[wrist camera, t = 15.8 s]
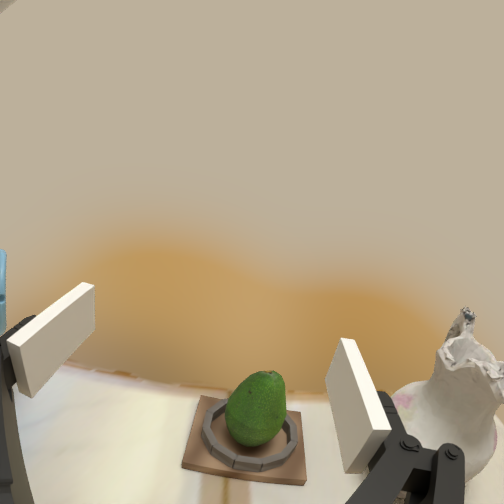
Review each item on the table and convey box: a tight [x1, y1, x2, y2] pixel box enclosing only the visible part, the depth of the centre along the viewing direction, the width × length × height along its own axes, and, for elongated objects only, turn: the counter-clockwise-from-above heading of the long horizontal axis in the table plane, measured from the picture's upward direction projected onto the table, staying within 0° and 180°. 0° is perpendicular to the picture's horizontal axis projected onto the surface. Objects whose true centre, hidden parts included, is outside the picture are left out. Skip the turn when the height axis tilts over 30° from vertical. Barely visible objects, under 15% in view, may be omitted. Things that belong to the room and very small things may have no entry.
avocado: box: [225, 371, 287, 447], centre depth 38 cm, size 8×8×12 cm
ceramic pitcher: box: [390, 307, 504, 498], centre depth 34 cm, size 22×20×25 cm
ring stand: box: [182, 395, 307, 485], centre depth 40 cm, size 16×14×4 cm
